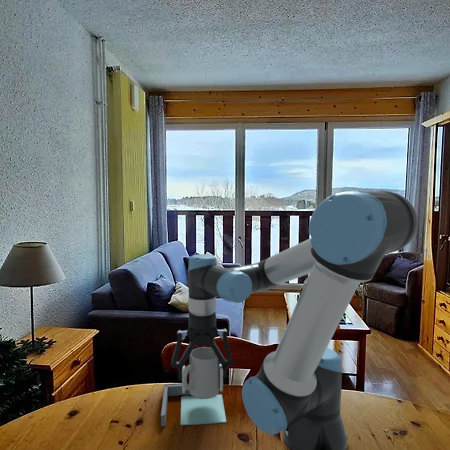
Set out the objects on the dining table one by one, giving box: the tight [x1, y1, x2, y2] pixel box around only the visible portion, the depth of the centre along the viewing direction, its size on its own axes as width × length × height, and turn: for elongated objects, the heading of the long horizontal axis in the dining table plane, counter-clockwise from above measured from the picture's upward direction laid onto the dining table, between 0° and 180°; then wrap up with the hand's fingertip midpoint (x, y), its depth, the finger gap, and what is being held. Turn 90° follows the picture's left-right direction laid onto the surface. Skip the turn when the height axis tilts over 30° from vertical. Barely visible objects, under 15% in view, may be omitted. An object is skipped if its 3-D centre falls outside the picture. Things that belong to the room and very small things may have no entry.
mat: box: [180, 393, 227, 426], centre depth 103 cm, size 12×13×1 cm
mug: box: [181, 346, 221, 399], centre depth 102 cm, size 12×8×11 cm
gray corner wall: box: [160, 383, 192, 427], centre depth 104 cm, size 16×15×3 cm
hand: (202, 389), depth 103 cm, fingers closed on mug, 10 cm apart
